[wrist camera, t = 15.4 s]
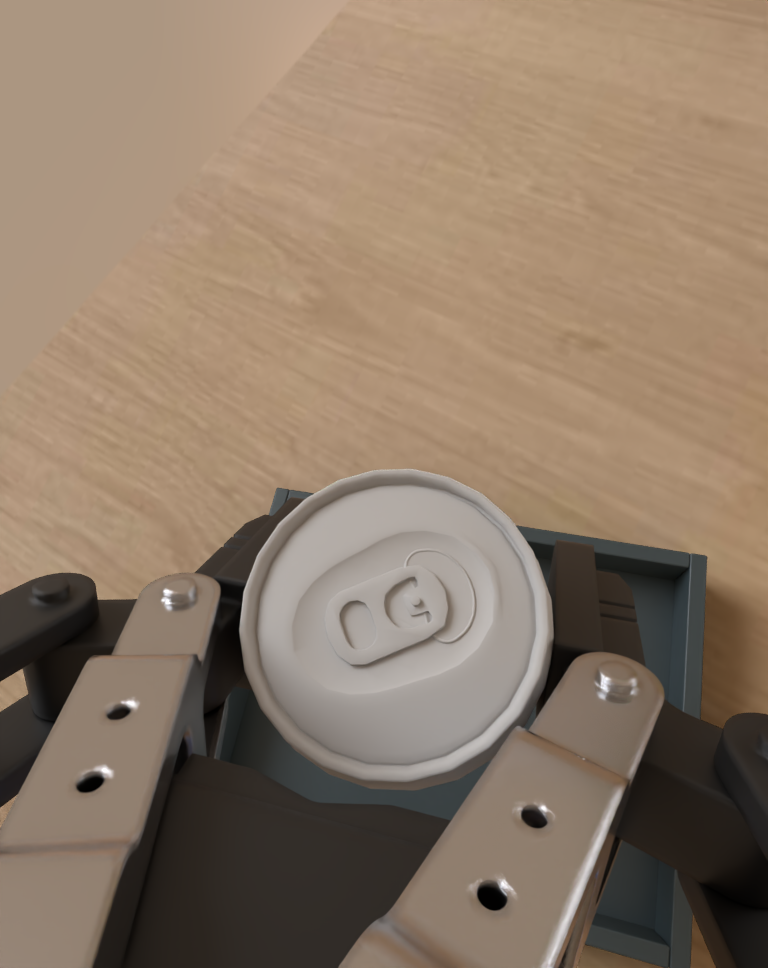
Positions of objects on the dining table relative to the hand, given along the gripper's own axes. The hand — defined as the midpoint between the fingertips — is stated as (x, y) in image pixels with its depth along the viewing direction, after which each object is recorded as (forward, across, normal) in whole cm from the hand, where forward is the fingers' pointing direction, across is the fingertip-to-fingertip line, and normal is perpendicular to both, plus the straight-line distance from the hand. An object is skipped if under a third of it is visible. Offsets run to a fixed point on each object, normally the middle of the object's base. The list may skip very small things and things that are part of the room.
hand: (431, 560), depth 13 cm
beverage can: (+5, 0, +7) cm, 9 cm away
